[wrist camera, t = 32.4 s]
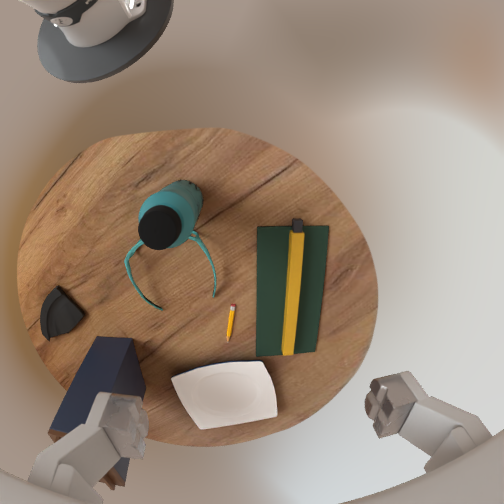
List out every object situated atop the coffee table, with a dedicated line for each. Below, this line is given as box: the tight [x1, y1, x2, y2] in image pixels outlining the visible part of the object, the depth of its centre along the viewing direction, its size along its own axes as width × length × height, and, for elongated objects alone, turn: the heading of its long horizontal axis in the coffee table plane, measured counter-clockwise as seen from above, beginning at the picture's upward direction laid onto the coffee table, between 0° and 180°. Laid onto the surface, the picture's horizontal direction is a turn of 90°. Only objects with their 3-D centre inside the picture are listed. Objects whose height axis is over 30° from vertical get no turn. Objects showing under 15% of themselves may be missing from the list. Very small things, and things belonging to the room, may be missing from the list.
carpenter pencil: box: [281, 218, 304, 356], centre depth 50 cm, size 26×2×2 cm, turn 179°
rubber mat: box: [256, 226, 329, 357], centre depth 52 cm, size 26×12×1 cm, turn 0°
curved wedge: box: [40, 286, 85, 341], centre depth 49 cm, size 8×14×2 cm, turn 127°
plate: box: [171, 360, 277, 429], centre depth 58 cm, size 20×20×3 cm
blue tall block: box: [48, 336, 146, 490], centre depth 42 cm, size 14×8×27 cm, turn 0°
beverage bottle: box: [138, 179, 204, 250], centre depth 35 cm, size 6×7×20 cm
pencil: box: [227, 304, 236, 342], centre depth 53 cm, size 1×8×1 cm, turn 171°
